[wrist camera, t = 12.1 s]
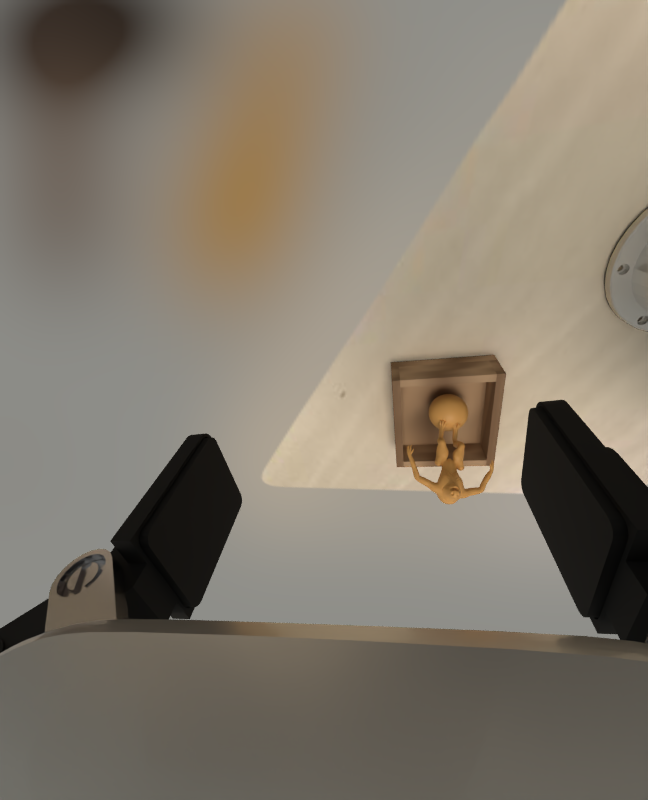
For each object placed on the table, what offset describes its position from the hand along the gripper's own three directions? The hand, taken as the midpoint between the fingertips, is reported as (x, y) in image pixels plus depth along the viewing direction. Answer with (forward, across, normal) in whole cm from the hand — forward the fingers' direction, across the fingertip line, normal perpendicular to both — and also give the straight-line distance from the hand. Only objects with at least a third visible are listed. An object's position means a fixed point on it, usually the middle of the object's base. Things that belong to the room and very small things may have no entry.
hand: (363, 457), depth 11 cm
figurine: (+26, -6, +16) cm, 31 cm away
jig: (+27, -6, +16) cm, 32 cm away
